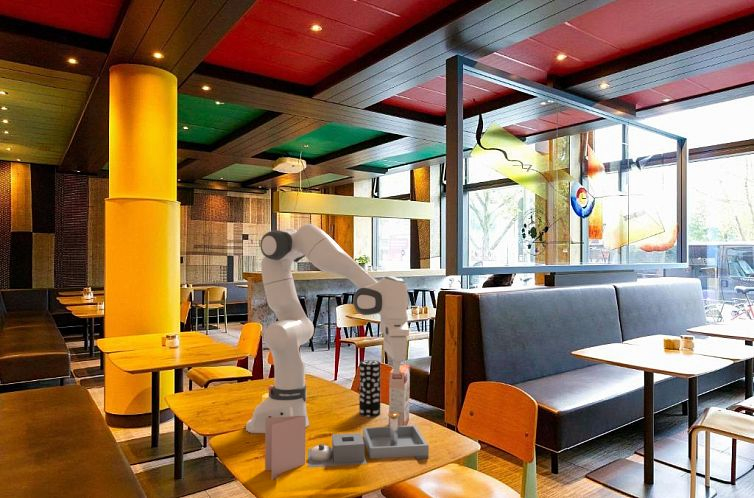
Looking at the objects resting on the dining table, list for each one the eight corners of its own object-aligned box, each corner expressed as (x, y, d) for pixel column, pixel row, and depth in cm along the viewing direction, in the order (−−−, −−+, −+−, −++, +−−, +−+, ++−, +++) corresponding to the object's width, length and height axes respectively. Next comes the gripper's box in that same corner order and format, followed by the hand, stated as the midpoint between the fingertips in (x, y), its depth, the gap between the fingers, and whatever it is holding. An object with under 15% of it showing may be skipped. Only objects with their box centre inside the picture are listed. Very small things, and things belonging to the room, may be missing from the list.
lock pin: (389, 447, 152) (389, 416, 153) (387, 443, 156) (387, 412, 156) (400, 447, 153) (400, 415, 153) (398, 442, 156) (398, 412, 157)
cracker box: (405, 432, 169) (405, 372, 169) (388, 431, 170) (388, 372, 170) (410, 419, 182) (410, 364, 183) (394, 418, 184) (394, 363, 184)
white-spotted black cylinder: (361, 409, 194) (361, 360, 195) (381, 410, 193) (381, 360, 194) (357, 416, 186) (357, 364, 186) (378, 417, 185) (379, 365, 185)
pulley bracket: (308, 470, 138) (308, 449, 138) (307, 452, 151) (308, 433, 151) (366, 467, 140) (366, 446, 141) (361, 449, 153) (361, 430, 153)
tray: (370, 461, 144) (370, 448, 144) (363, 439, 162) (363, 427, 162) (428, 458, 147) (428, 445, 147) (415, 436, 165) (415, 425, 165)
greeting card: (305, 466, 141) (305, 414, 141) (305, 477, 134) (306, 423, 134) (265, 468, 139) (265, 416, 140) (263, 480, 132) (264, 425, 132)
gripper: (379, 322, 165) (379, 362, 165) (389, 331, 145) (389, 377, 145) (397, 322, 166) (397, 362, 166) (410, 331, 146) (409, 377, 146)
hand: (393, 369), depth 155 cm, fingers open, 8 cm apart
